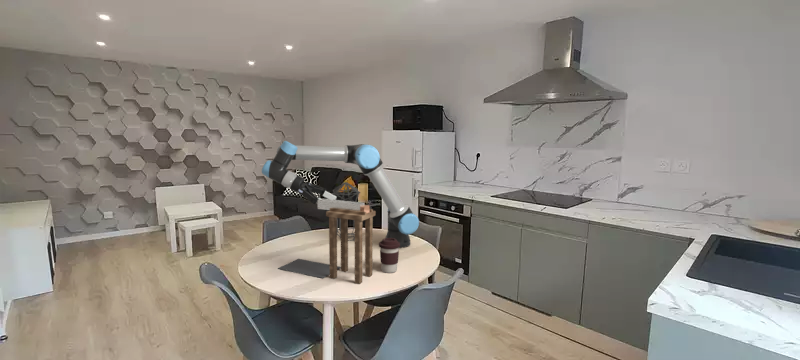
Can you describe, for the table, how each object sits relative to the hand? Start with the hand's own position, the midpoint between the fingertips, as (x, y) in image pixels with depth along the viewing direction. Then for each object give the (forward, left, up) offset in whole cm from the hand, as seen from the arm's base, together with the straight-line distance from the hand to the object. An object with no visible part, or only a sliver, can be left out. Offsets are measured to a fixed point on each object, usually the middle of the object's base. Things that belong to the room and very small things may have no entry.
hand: (332, 202), depth 182 cm
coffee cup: (-28, +9, -31) cm, 42 cm away
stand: (-11, +17, -30) cm, 36 cm away
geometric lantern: (-1, -42, -31) cm, 52 cm away
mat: (+10, +7, -30) cm, 33 cm away
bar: (-6, +15, 0) cm, 16 cm away
